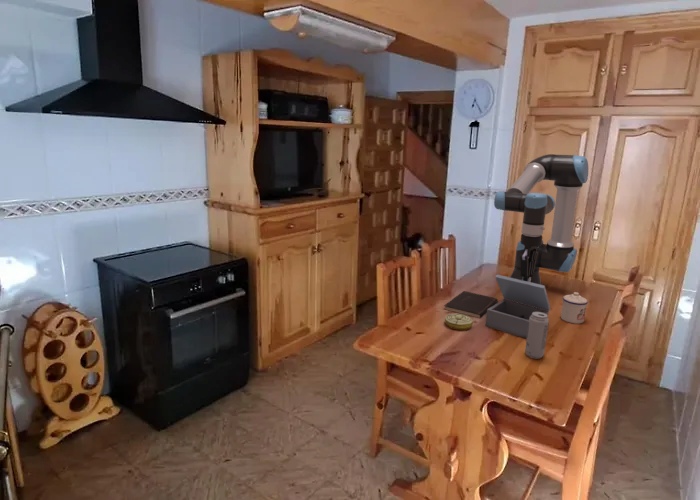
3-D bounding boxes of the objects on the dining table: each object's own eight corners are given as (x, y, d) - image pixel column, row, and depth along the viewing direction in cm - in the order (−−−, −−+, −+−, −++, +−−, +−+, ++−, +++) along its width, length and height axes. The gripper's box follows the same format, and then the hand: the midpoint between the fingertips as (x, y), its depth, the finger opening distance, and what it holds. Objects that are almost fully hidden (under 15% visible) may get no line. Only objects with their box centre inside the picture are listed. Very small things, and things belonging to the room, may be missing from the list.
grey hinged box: (502, 314, 189) (504, 299, 188) (546, 327, 178) (548, 310, 176) (485, 325, 178) (487, 309, 176) (531, 340, 166) (533, 322, 164)
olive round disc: (461, 318, 184) (462, 310, 183) (477, 329, 175) (478, 320, 174) (439, 322, 181) (440, 313, 180) (454, 333, 171) (455, 323, 170)
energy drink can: (526, 349, 159) (531, 309, 155) (544, 354, 156) (550, 313, 152) (523, 356, 154) (528, 315, 150) (542, 361, 151) (548, 319, 147)
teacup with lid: (580, 326, 180) (585, 298, 177) (556, 319, 186) (560, 292, 183) (589, 317, 188) (593, 291, 185) (566, 311, 194) (570, 285, 191)
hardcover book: (443, 310, 194) (444, 305, 193) (463, 295, 212) (463, 290, 211) (480, 319, 185) (480, 314, 184) (497, 303, 203) (498, 298, 203)
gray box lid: (503, 298, 188) (504, 296, 188) (549, 310, 176) (550, 308, 176) (495, 276, 177) (496, 274, 177) (543, 288, 165) (544, 285, 165)
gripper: (535, 239, 164) (528, 299, 171) (548, 232, 174) (540, 290, 180) (515, 235, 169) (509, 294, 176) (528, 229, 178) (521, 285, 185)
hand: (525, 292), depth 178 cm, fingers closed
